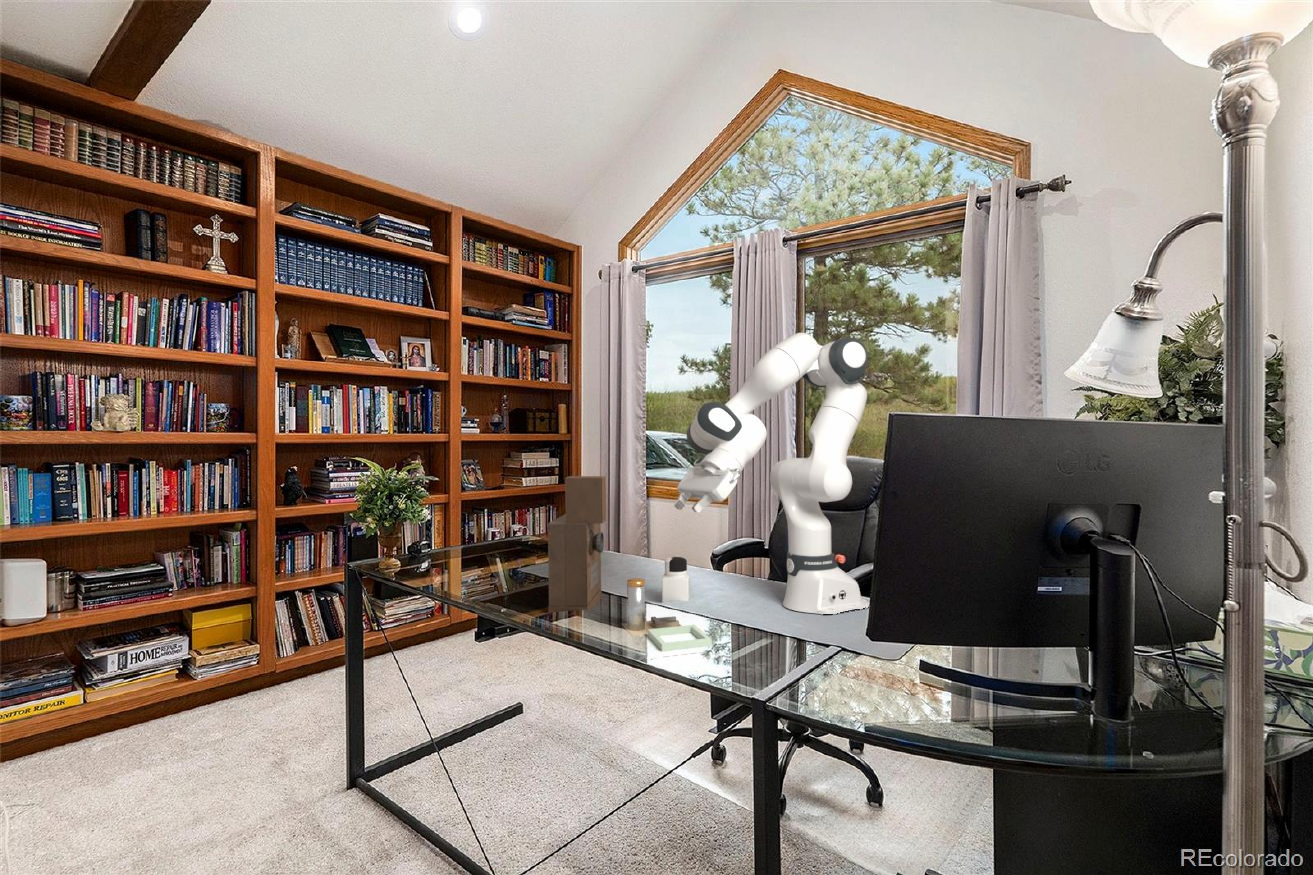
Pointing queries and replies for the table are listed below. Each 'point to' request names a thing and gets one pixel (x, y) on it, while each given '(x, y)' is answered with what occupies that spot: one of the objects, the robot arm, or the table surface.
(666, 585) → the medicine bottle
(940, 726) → the table surface
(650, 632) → the tray
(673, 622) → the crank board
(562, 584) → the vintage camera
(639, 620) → the glass spice jar
